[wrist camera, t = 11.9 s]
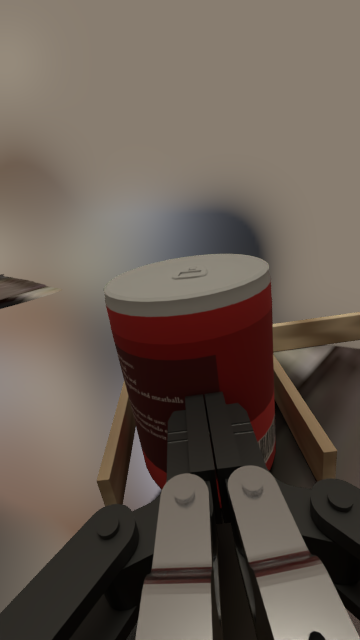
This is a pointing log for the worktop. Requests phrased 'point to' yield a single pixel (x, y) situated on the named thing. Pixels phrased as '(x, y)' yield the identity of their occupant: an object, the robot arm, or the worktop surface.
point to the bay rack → (285, 394)
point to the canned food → (194, 344)
